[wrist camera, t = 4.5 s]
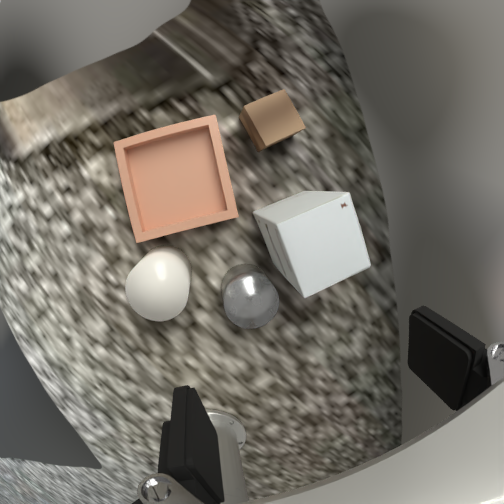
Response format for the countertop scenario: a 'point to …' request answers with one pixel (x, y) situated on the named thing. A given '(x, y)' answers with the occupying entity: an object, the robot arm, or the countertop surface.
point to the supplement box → (314, 239)
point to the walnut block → (271, 120)
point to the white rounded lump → (160, 283)
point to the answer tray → (175, 178)
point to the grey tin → (249, 296)
